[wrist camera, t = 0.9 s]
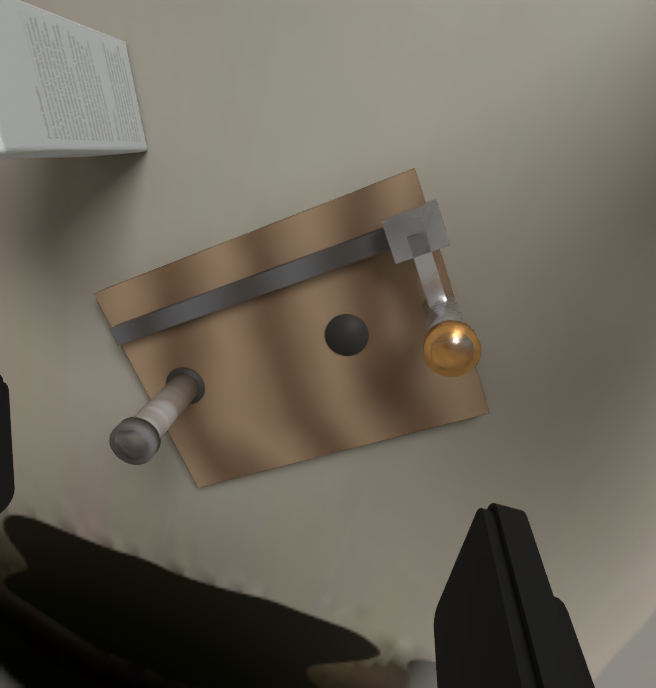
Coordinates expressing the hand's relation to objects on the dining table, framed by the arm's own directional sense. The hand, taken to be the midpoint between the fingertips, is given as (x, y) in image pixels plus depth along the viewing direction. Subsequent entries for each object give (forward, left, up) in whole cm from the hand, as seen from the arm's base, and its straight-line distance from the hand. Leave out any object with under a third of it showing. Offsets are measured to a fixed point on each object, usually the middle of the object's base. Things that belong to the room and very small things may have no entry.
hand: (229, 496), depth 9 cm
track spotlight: (-5, +2, -21) cm, 22 cm away
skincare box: (+10, -14, -23) cm, 29 cm away
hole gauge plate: (+5, +4, -23) cm, 24 cm away
